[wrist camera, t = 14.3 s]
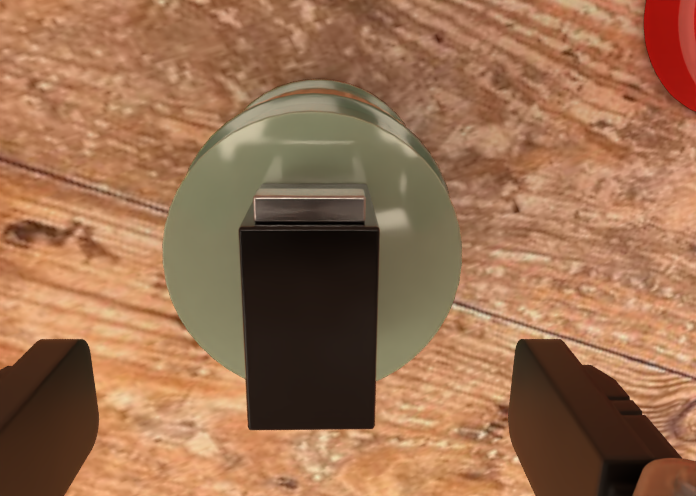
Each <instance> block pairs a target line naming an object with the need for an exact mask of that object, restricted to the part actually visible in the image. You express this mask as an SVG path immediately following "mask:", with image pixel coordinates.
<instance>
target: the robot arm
mask: <svg viewBox="0 0 696 496" xmlns="http://www.w3.org/2000/svg"><path fill="white" fill-rule="evenodd" d="M508 423H509V433H510V438H511V442H512V445H513V447H514V450H515V452H516V454H517V456H518V458H519V461H520V463H521V465H522V467H523V469H524V471H525V474H526V476H527V478H528V480H529V482H530V485H531V487H532V489H533V491H534V493H535V496H696V461H692V460H687V459H682V457H681V456H680V455H679V454H678V453H677V452H676V450H675V449H674V448H673V447H672V446H671V445H670V443H669V442H668V441H667V440H666V439H665V438H664V436H663V435H662V434H661V433H660V432H659V431H658V429H657V428H656V427H655V426H654V425H653V424H652V422H651V421H650V420H649V419H648V418H647V417H646V415H642V411H641V410H640V408H639V407H638V406H637V405H636V404H635V403H634V401H633V400H630V397H629V396H628V394H627V393H626V392H625V391H624V390H623V389H622V387H621V386H620V385H619V384H618V383H617V382H616V380H614V379H613V378H611V377H610V376H608V375H606V374H605V373H603V372H602V371H600V370H598V369H597V368H595V367H593V366H592V365H582V364H581V363H580V362H579V361H578V359H577V358H576V357H575V356H574V354H573V353H572V352H571V350H570V349H569V348H568V347H567V345H566V344H565V343H564V342H563V341H562V340H561V339H521V340H519V341H518V343H517V346H516V350H515V357H514V366H513V375H512V384H511V393H510V402H509V412H508ZM98 425H99V412H98V405H97V397H96V390H95V383H94V376H93V368H92V361H91V354H90V349H89V346H88V344H87V342H86V341H85V340H83V339H41V340H39V341H37V342H36V343H35V344H34V345H33V346H32V347H31V348H30V349H29V350H28V351H27V352H26V353H25V354H24V355H23V356H22V357H21V358H20V359H19V360H18V361H17V362H16V363H15V364H14V365H13V366H7V367H5V368H3V369H1V370H0V496H64V495H65V493H66V492H67V490H68V488H69V487H70V485H71V483H72V482H73V480H74V478H75V477H76V475H77V473H78V472H79V470H80V468H81V467H82V465H83V463H84V461H85V460H86V458H87V456H88V455H89V453H90V451H91V450H92V448H93V446H94V443H95V440H96V437H97V432H98Z"/></svg>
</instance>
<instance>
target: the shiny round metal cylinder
mask: <svg viewBox="0 0 696 496" xmlns="http://www.w3.org/2000/svg"><path fill="white" fill-rule="evenodd" d="M263 183H284V184H367V186H368V189H369V193H370V196H371V200H372V203H373V207H374V210H375V214H376V218H377V221H378V225H379V228H380V250H379V287H378V324H377V361H376V381H378V380H380V379H382V378H385V377H386V376H388V375H390V374H391V373H393V372H395V371H396V370H398V369H400V368H401V367H402V366H404V365H405V364H406V363H408V362H409V361H410V360H412V359H413V358H414V357H415V356H416V355H417V354H418V353H419V352H420V351H421V350H422V349H423V348H424V347H425V346H426V345H427V344H428V343H429V342H430V340H431V339H432V338H433V337H434V335H435V334H436V333H437V332H438V330H439V328H440V327H441V325H442V323H443V322H444V320H445V318H446V317H447V315H448V313H449V310H450V308H451V306H452V303H453V301H454V299H455V295H456V292H457V288H458V285H459V281H460V274H461V267H462V241H461V234H460V227H459V223H458V219H457V216H456V212H455V209H454V206H453V204H452V202H451V199H450V196H449V192H448V189H447V185H446V183H445V180H444V178H443V176H442V173H441V171H440V169H439V167H438V165H437V163H436V162H435V160H434V159H433V157H432V155H431V154H430V152H429V151H428V150H427V148H426V147H425V146H424V145H423V143H422V142H421V141H420V140H419V139H418V137H417V136H416V135H414V134H413V133H412V132H411V131H410V130H409V129H408V128H407V127H406V125H405V124H404V122H403V121H402V120H401V119H400V118H399V116H398V115H397V114H396V113H395V112H394V111H393V110H392V109H391V108H390V107H389V106H388V105H387V104H386V103H385V102H383V101H382V100H380V99H379V98H378V97H376V96H375V95H373V94H372V93H370V92H368V91H366V90H364V89H362V88H360V87H357V86H354V85H352V84H349V83H346V82H341V81H336V80H329V79H306V80H300V81H295V82H290V83H287V84H285V85H282V86H279V87H276V88H274V89H272V90H270V91H268V92H267V93H265V94H263V95H262V96H260V97H259V98H257V99H256V100H254V101H253V102H252V103H251V104H250V105H248V106H247V107H246V108H245V109H244V110H243V111H242V112H241V113H240V114H238V115H237V116H235V117H234V118H232V119H231V120H229V121H228V122H226V123H225V124H224V125H223V126H222V127H221V128H220V129H219V130H217V131H216V132H215V133H214V134H213V135H212V136H211V137H210V138H209V139H208V141H207V142H206V143H205V144H204V146H203V147H202V148H201V149H200V150H199V152H198V154H197V155H196V157H195V159H194V160H193V162H192V164H191V165H190V167H189V169H188V172H187V174H186V176H185V178H184V180H183V181H182V183H181V185H180V186H179V188H178V189H177V192H176V194H175V196H174V199H173V201H172V203H171V206H170V208H169V212H168V216H167V219H166V223H165V228H164V236H163V244H162V249H163V268H164V274H165V280H166V284H167V288H168V291H169V294H170V298H171V300H172V303H173V305H174V307H175V309H176V311H177V313H178V316H179V317H180V319H181V321H182V322H183V324H184V325H185V327H186V329H187V330H188V332H189V333H190V334H191V336H192V337H193V338H194V339H195V340H196V342H197V343H198V344H199V345H200V346H201V347H202V348H203V349H204V350H205V351H206V352H207V353H208V354H209V355H210V356H211V357H212V358H213V359H215V360H216V361H217V362H219V363H220V364H221V365H223V366H224V367H225V368H227V369H228V370H230V371H232V372H233V373H235V374H237V375H239V376H241V377H242V378H244V379H246V377H245V357H244V337H243V316H242V296H241V275H240V255H239V234H238V229H239V227H240V225H241V223H242V221H243V219H244V217H245V215H246V213H247V211H248V209H249V208H250V206H251V204H252V202H253V197H254V195H255V193H256V191H257V189H259V188H260V186H261V184H263Z"/></svg>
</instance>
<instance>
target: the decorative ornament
mask: <svg viewBox="0 0 696 496" xmlns="http://www.w3.org/2000/svg"><path fill="white" fill-rule="evenodd" d="M644 35H645V43H646V48H647V52H648V55H649V58H650V61H651V63H652V66H653V68H654V70H655V72H656V74H657V76H658V77H659V79H660V81H661V82H662V84H663V85H664V87H665V88H666V89H667V91H668V92H669V93H670V94H671V95H672V96H673V97H674V98H675V99H676V100H678V101H679V102H680V103H682V104H683V105H685V106H686V107H688V108H689V109H691V110H693V111H695V112H696V0H646V6H645V13H644Z"/></svg>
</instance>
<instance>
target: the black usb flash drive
mask: <svg viewBox="0 0 696 496" xmlns="http://www.w3.org/2000/svg"><path fill="white" fill-rule="evenodd" d="M238 234H239V255H240V275H241V296H242V316H243V337H244V357H245V377H246V398H247V418H248V428H249V430H321V429H373V428H374V426H375V398H376V361H377V324H378V287H379V250H380V228H379V225H378V221H377V218H376V214H375V210H374V207H373V203H372V200H371V196H370V193H369V189H368V186H367V184H284V183H263V184H261V186H260V188H259V189H257V191H256V193H255V195H254V197H253V202H252V204H251V206H250V208H249V209H248V211H247V213H246V215H245V217H244V219H243V221H242V223H241V225H240V227H239V229H238Z"/></svg>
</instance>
